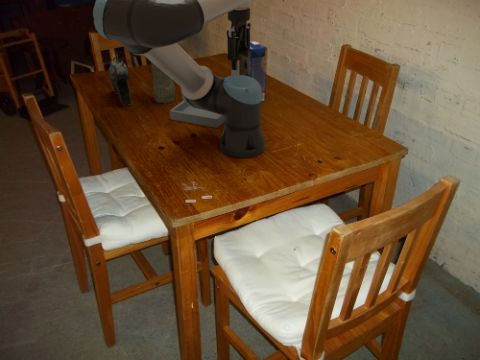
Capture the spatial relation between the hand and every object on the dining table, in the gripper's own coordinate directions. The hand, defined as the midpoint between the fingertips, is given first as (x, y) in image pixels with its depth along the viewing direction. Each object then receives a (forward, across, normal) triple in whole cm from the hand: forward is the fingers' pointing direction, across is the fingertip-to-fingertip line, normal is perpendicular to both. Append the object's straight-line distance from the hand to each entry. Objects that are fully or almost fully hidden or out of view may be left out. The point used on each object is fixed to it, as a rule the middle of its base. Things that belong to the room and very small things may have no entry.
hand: (239, 75), depth 150 cm
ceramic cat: (+17, -6, +53) cm, 56 cm away
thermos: (+17, +2, +37) cm, 41 cm away
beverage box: (+18, +22, +5) cm, 28 cm away
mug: (+2, +1, 0) cm, 2 cm away
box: (+17, -2, +14) cm, 22 cm away
